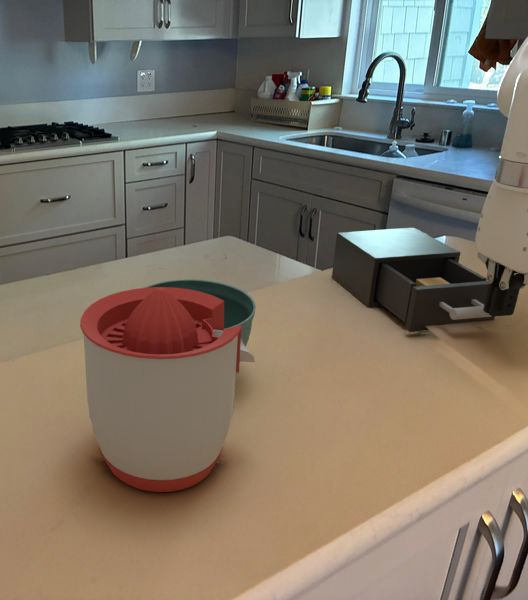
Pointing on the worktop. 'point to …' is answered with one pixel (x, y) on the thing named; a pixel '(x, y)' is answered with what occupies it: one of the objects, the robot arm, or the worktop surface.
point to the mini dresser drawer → (431, 293)
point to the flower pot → (235, 300)
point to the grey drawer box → (380, 256)
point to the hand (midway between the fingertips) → (497, 313)
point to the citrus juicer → (161, 383)
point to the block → (430, 281)
